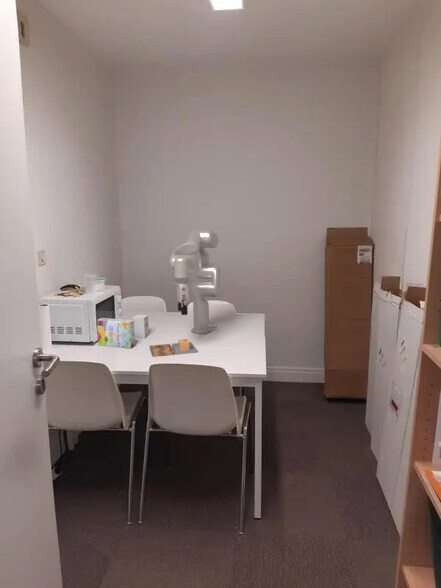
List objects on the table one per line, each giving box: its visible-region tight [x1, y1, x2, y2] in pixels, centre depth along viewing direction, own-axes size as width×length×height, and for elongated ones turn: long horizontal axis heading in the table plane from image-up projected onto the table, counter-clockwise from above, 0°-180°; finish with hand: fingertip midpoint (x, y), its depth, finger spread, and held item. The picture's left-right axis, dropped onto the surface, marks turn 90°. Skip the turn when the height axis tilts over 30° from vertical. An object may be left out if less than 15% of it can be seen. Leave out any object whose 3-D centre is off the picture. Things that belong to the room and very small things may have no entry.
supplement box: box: [132, 314, 150, 339], centre depth 267 cm, size 7×7×13 cm
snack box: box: [96, 317, 136, 349], centre depth 250 cm, size 21×6×15 cm, turn 71°
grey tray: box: [171, 341, 198, 356], centre depth 240 cm, size 11×14×2 cm
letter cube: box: [177, 338, 190, 351], centre depth 240 cm, size 5×5×5 cm
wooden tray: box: [149, 343, 175, 358], centre depth 237 cm, size 11×14×2 cm
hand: (182, 312), depth 236 cm, fingers open, 9 cm apart
